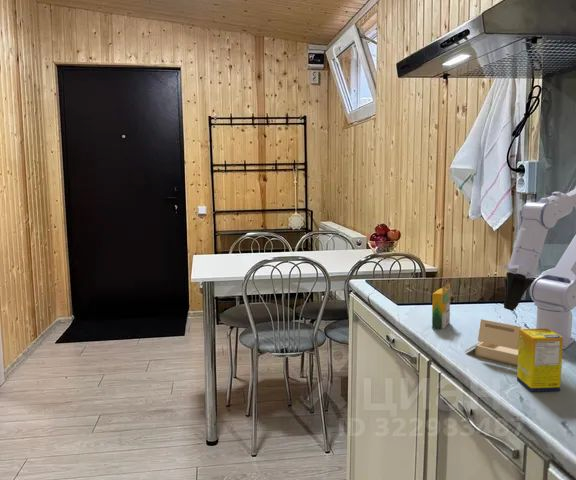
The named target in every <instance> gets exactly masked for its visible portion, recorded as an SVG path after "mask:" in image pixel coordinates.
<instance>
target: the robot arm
mask: <svg viewBox="0 0 576 480" xmlns="http://www.w3.org/2000/svg"><path fill="white" fill-rule="evenodd" d="M574 207H575V208H576V185H575V187H574V188H573V190H570V191H568V192H566V193H563V192H561V191H554V192H551V195H550V196H548V197H541V198H540V199H539V200H538V201H537V202H532V201H529V202H527V203H525V204H524V205H523V206H522V207H521V208H520V209H519V210H518V225H517V230H518V233H517V237H516V240H515V243H514V247H513V250H512V253H511V256H510V259H509V262H508V265H506V264H503V265H502V267H501V268H502V269H503V270H506V271H507V272H506V278H504V279H503V281H504V287H505V292H504V293H505V294H504V300H503V308H504V309H506V310H507V311H508V310H510V311H512V312H513V311H514V310H515V309H517V307H518V305H519V304H520V302H521V300H522V298H523V295H524V294H525V292H526V291H527V290H528V288H529V297H530V298H531V300H532V302H533V303H534V306H536V307H537V308H536V321H535V323H536V324H535V329H540V328H548V329H550V330H551V331H553V332H555V333H557V334H558V335H560V336H562V337H563V346H562V350H565V349H567V348H568V347H569V346H570V345H571V344H572V343H574V341H576V338H575V337H572V329H573V312H572V310H574V309H575V308H576V234H575V235H574V237H572V240H571V241H570V243H569V245H568V246H567V248H566V249H565V251H564V253H563V254H562V256H561V258H560V259H559V261H558V262H557V264H556V265H555V267H553V268H550V269H547V270H544V271H542V272H541V274H540V275H538V277H537V278H535V277H536V271H537V268H538V263H539V260H540V258H541V254H542V251H543V248H544V244H545V241H546V237H547V235H548V231H549V229H551V228H554V227H555V226H556V224H557V222H558V220H560V219H562V218H563V217H566V216H567V215H568V216H569V215H570V214H571V213H572V211H573V209H574ZM534 278H535V279H534ZM533 279H534V280H533Z"/></svg>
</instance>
